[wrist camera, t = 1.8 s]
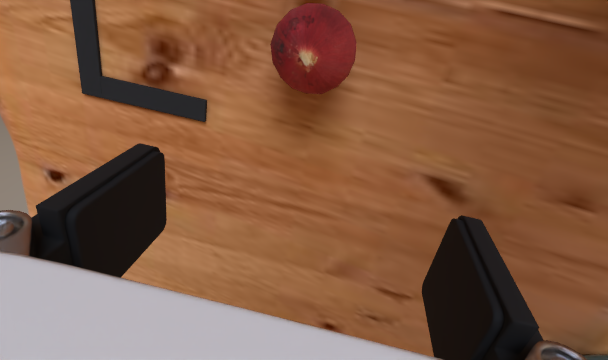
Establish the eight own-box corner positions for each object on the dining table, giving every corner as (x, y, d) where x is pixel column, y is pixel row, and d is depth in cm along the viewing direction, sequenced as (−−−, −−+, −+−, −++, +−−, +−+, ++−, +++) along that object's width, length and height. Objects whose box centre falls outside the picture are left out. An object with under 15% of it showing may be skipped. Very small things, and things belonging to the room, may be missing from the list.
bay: (54, -144, 24) (50, -146, 24) (216, -113, 24) (215, -115, 23) (84, 92, 32) (82, 93, 32) (206, 121, 32) (204, 122, 31)
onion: (274, 65, 28) (243, 85, 21) (298, -10, 26) (272, -15, 19) (338, 93, 28) (329, 122, 21) (370, 22, 26) (371, 29, 19)
